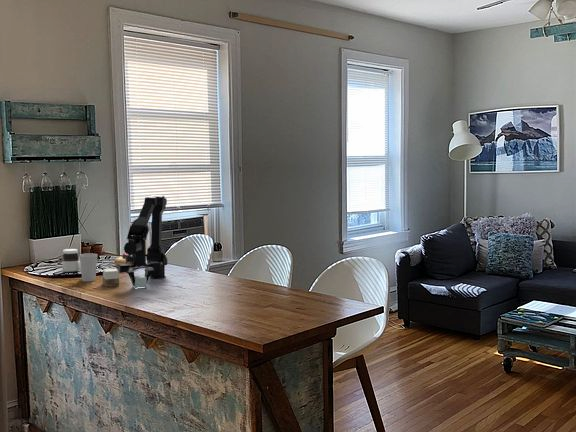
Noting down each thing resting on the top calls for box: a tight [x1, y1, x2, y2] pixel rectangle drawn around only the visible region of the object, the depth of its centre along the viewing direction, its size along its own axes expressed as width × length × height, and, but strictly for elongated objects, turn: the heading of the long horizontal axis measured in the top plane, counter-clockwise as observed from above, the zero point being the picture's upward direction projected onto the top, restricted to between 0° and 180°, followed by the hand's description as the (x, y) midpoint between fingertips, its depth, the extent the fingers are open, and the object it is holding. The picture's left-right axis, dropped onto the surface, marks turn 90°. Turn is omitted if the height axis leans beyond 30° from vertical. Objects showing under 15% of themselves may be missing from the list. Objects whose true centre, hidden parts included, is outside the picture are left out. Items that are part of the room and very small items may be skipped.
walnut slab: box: [102, 276, 120, 287], centre depth 283 cm, size 6×6×4 cm
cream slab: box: [102, 267, 120, 279], centre depth 283 cm, size 6×6×4 cm
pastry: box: [113, 253, 130, 269], centre depth 320 cm, size 12×12×9 cm
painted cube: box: [134, 274, 148, 288], centre depth 278 cm, size 5×5×5 cm
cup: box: [78, 252, 98, 282], centre depth 291 cm, size 8×8×12 cm
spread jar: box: [61, 248, 81, 274], centre depth 305 cm, size 12×11×12 cm
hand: (139, 285), depth 278 cm, fingers closed on painted cube, 5 cm apart
